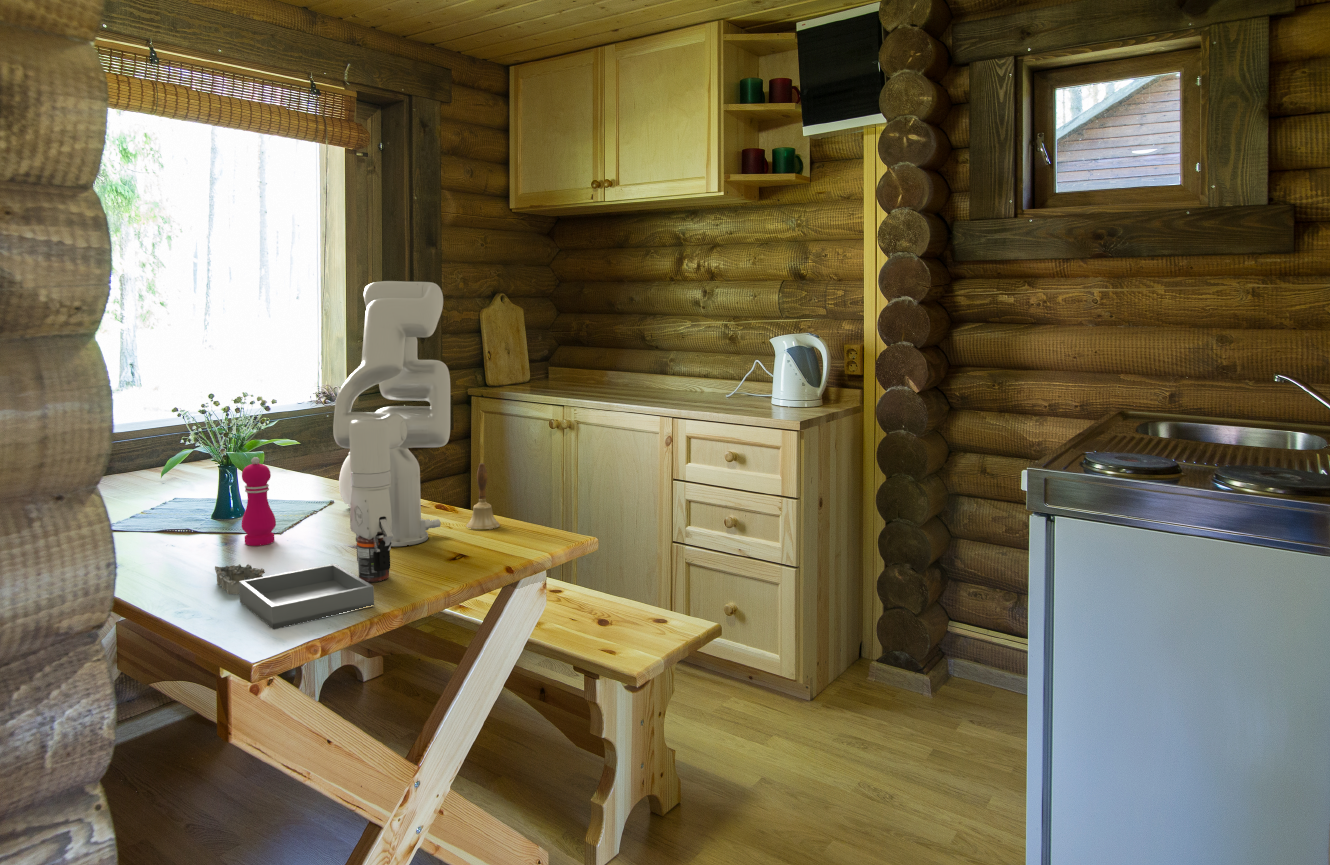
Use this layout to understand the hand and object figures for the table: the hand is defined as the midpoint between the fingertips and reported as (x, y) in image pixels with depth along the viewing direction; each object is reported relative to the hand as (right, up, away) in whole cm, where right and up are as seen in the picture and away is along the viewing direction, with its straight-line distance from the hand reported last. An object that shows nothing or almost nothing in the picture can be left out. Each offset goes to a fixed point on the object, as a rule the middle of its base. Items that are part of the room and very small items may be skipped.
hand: (373, 564), depth 180 cm
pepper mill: (-35, +1, +26) cm, 43 cm away
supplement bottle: (0, -3, 0) cm, 3 cm away
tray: (-7, -5, -15) cm, 18 cm away
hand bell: (+13, +3, +43) cm, 46 cm away
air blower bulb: (-25, +6, +61) cm, 66 cm away
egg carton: (-24, -4, -5) cm, 25 cm away
